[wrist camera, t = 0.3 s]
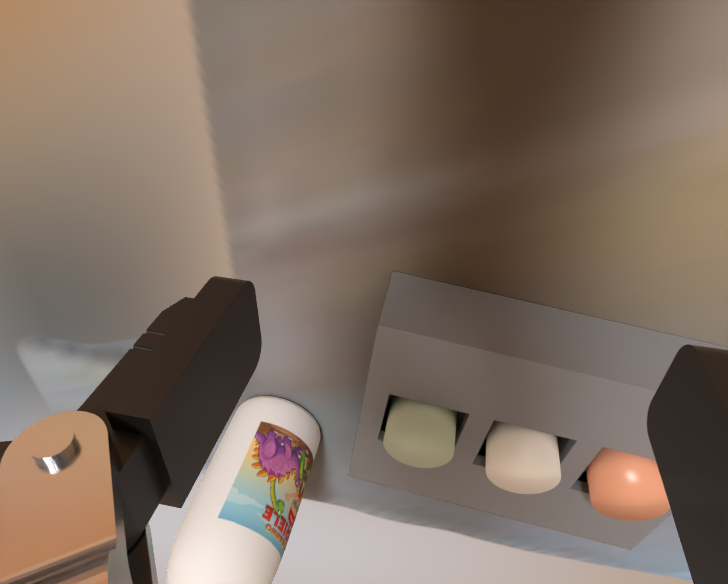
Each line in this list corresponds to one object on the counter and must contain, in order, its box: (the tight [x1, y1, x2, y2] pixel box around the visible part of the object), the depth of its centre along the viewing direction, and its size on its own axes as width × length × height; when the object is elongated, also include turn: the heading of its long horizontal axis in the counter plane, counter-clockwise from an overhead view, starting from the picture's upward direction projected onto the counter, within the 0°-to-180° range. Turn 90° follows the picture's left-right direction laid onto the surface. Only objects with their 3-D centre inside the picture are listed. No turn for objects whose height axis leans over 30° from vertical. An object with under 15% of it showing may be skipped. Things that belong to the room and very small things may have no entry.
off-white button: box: [486, 420, 561, 494], centre depth 32 cm, size 4×4×4 cm
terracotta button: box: [586, 447, 670, 521], centre depth 32 cm, size 4×4×4 cm
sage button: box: [383, 395, 457, 468], centre depth 33 cm, size 4×4×4 cm
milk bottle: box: [167, 396, 320, 584], centre depth 36 cm, size 8×8×20 cm
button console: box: [348, 271, 728, 550], centre depth 34 cm, size 16×21×5 cm
